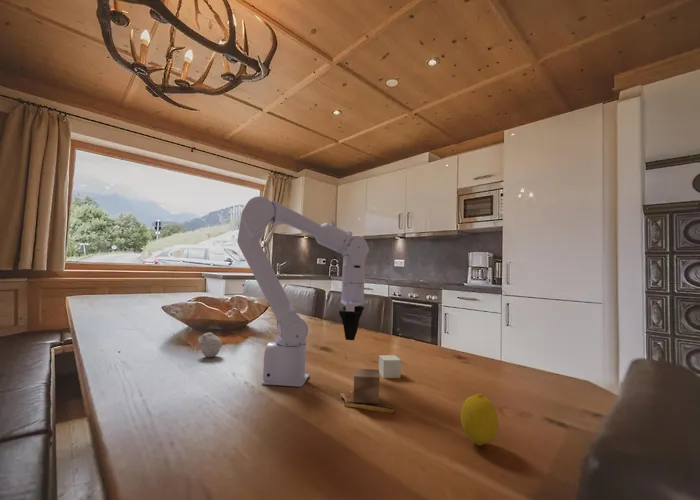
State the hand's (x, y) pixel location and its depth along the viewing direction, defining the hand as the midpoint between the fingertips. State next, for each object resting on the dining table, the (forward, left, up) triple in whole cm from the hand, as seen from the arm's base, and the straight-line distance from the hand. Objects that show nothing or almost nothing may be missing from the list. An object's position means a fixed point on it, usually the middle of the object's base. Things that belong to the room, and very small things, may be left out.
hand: (351, 336), depth 83 cm
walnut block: (+5, -16, -9) cm, 19 cm away
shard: (+5, -15, -11) cm, 19 cm away
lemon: (+23, -29, -10) cm, 38 cm away
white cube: (+10, +3, -10) cm, 14 cm away
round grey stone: (-42, +9, -10) cm, 44 cm away
